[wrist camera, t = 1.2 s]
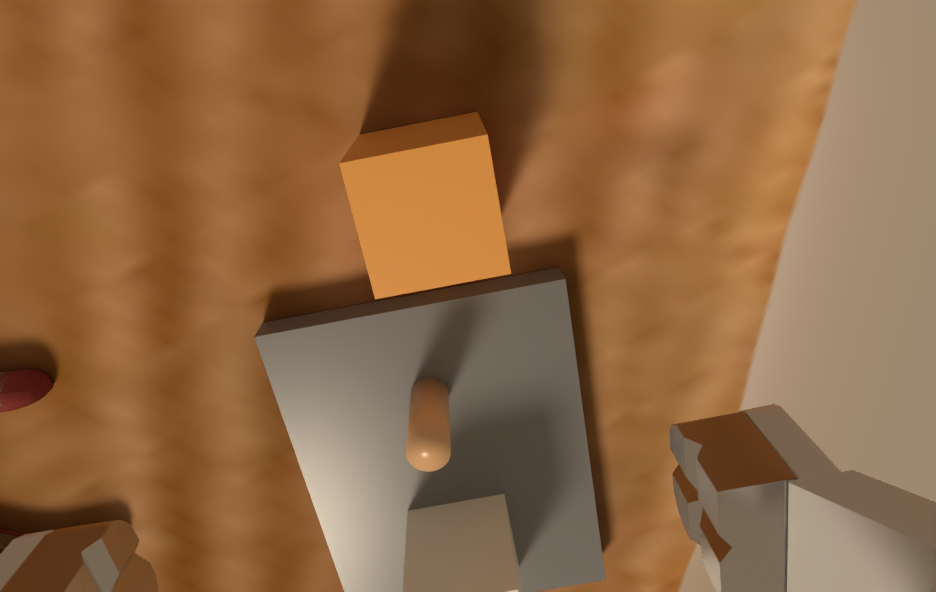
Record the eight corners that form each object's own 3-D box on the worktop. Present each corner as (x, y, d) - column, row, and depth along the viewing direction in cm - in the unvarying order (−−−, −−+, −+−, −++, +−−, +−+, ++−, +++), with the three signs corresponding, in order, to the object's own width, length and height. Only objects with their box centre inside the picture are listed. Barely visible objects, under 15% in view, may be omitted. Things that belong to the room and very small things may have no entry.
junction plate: (262, 322, 30) (210, 411, 23) (559, 267, 30) (596, 341, 23) (358, 600, 37) (340, 732, 30) (599, 558, 37) (637, 683, 30)
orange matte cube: (359, 134, 27) (339, 163, 21) (477, 111, 27) (487, 134, 21) (387, 246, 29) (375, 299, 23) (496, 225, 29) (511, 273, 23)
